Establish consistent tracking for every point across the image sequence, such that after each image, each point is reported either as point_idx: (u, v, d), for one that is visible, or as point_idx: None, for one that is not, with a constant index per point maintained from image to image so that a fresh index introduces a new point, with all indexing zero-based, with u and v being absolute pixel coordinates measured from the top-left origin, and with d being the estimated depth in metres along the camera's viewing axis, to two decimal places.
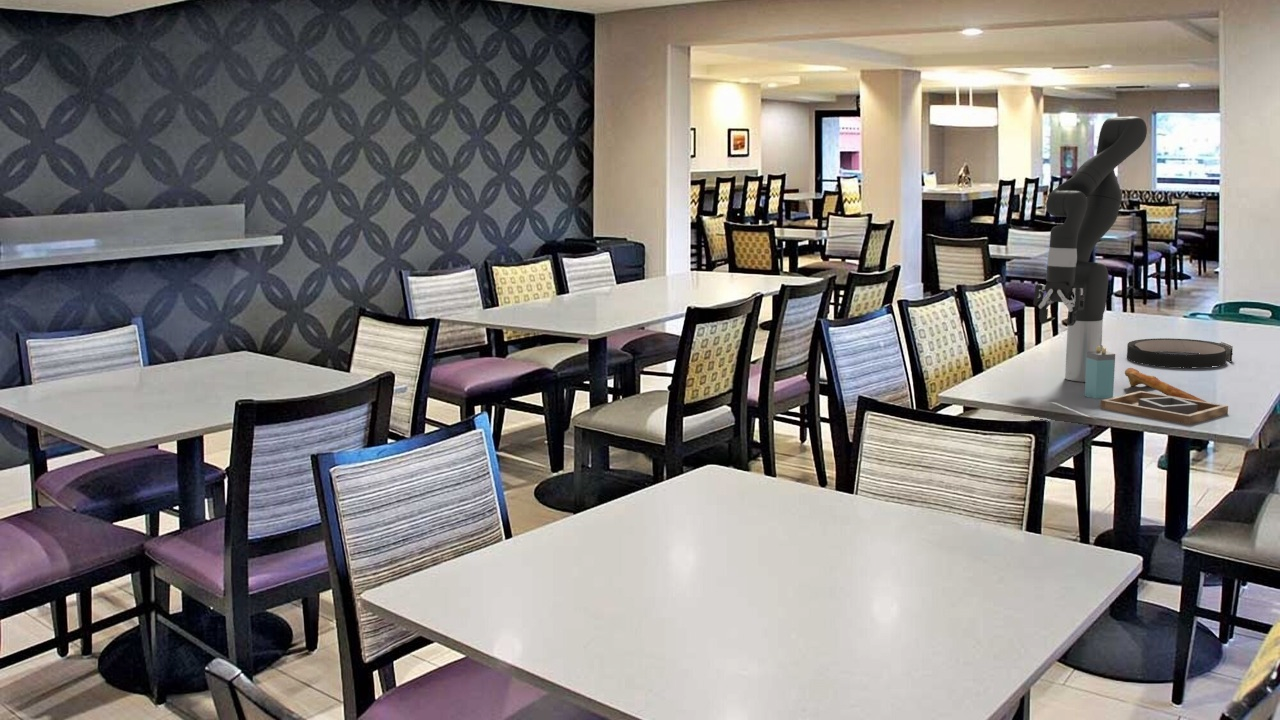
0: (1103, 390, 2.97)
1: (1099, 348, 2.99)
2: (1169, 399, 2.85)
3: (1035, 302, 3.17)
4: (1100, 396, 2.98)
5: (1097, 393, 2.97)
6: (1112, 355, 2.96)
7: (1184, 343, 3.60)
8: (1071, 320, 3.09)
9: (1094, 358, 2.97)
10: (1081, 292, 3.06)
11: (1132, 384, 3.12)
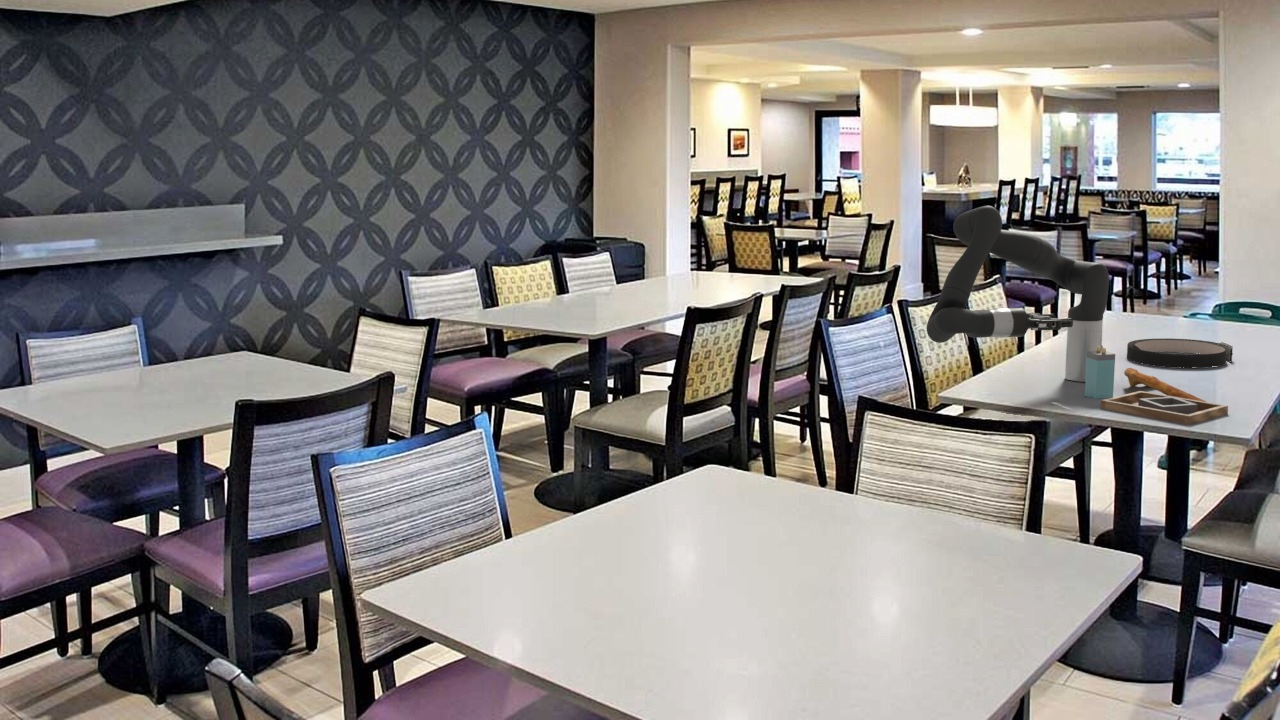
0: (1103, 390, 2.97)
1: (1099, 348, 2.99)
2: (1169, 399, 2.85)
3: None
4: (1100, 396, 2.98)
5: (1097, 393, 2.97)
6: (1112, 355, 2.96)
7: (1184, 343, 3.60)
8: (1068, 326, 2.90)
9: (1094, 358, 2.97)
10: (1044, 326, 2.86)
11: (1132, 384, 3.12)
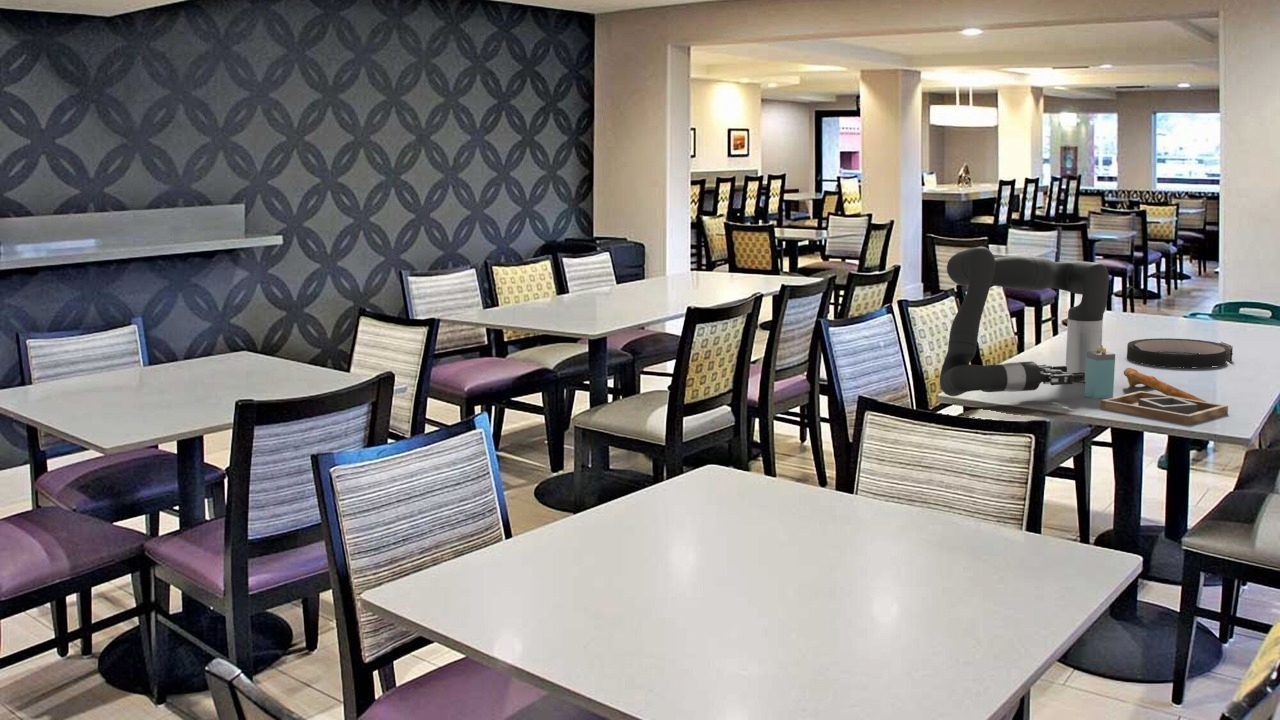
0: (1103, 390, 2.97)
1: (1099, 348, 2.99)
2: (1169, 399, 2.85)
3: None
4: (1100, 396, 2.98)
5: (1097, 393, 2.97)
6: (1112, 355, 2.96)
7: (1184, 343, 3.60)
8: None
9: (1094, 358, 2.97)
10: (1056, 381, 2.90)
11: (1131, 384, 3.12)
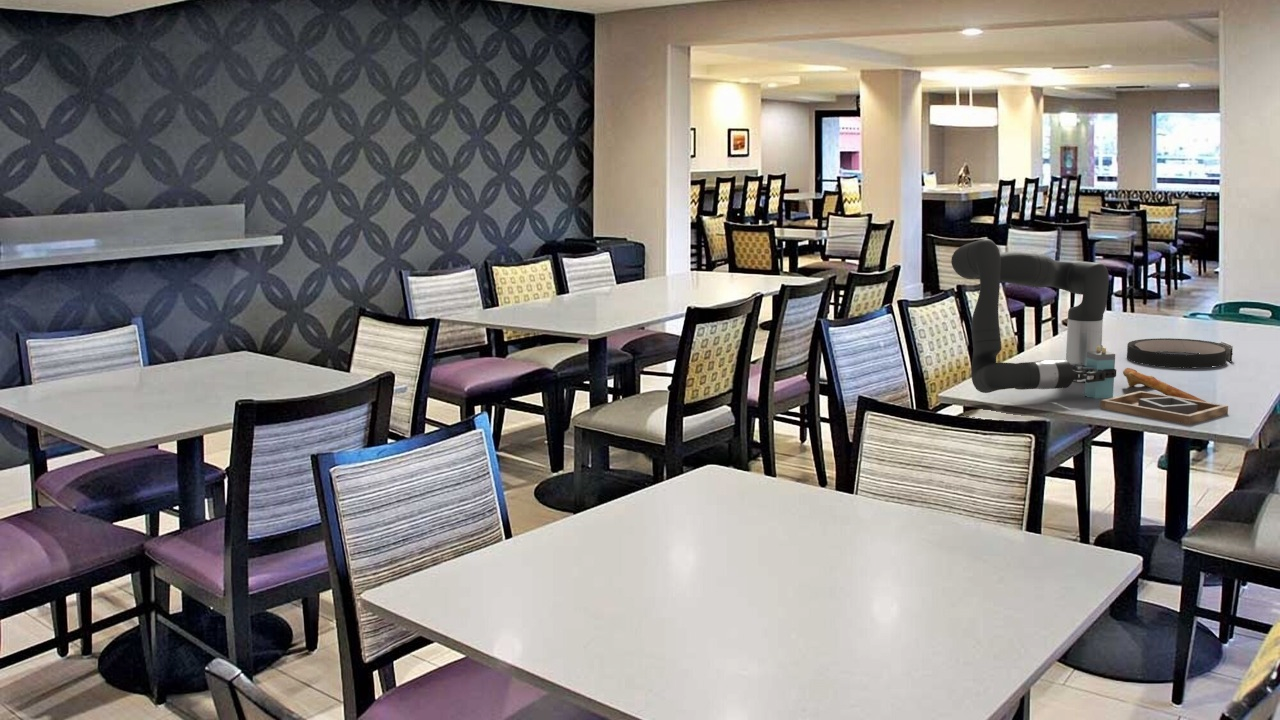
0: (1103, 390, 2.97)
1: (1099, 348, 2.99)
2: (1169, 399, 2.85)
3: None
4: (1100, 396, 2.98)
5: (1097, 393, 2.97)
6: (1112, 355, 2.96)
7: (1184, 343, 3.60)
8: None
9: (1094, 358, 2.97)
10: (1092, 378, 2.92)
11: (1131, 384, 3.12)
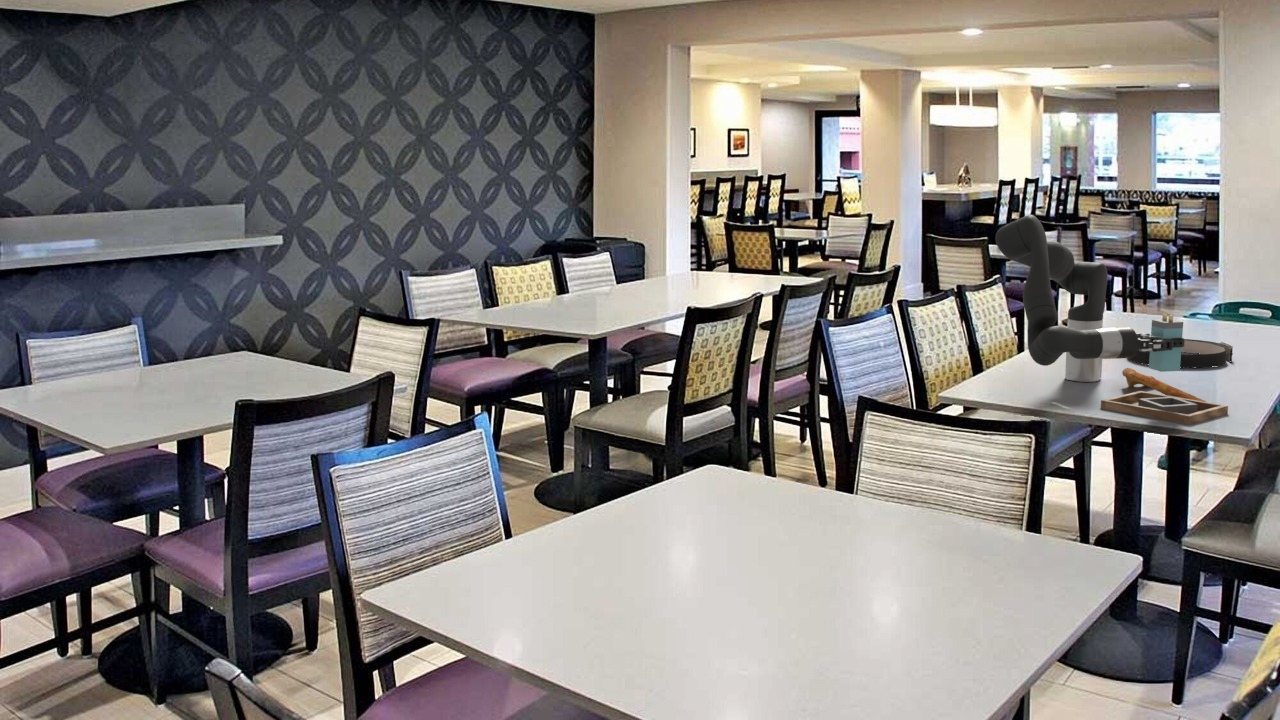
0: (1170, 360, 2.77)
1: (1165, 316, 2.78)
2: (1169, 399, 2.85)
3: None
4: (1167, 368, 2.77)
5: (1163, 364, 2.77)
6: (1180, 323, 2.76)
7: (1184, 343, 3.60)
8: None
9: (1160, 326, 2.77)
10: (1159, 347, 2.72)
11: (1130, 384, 3.12)
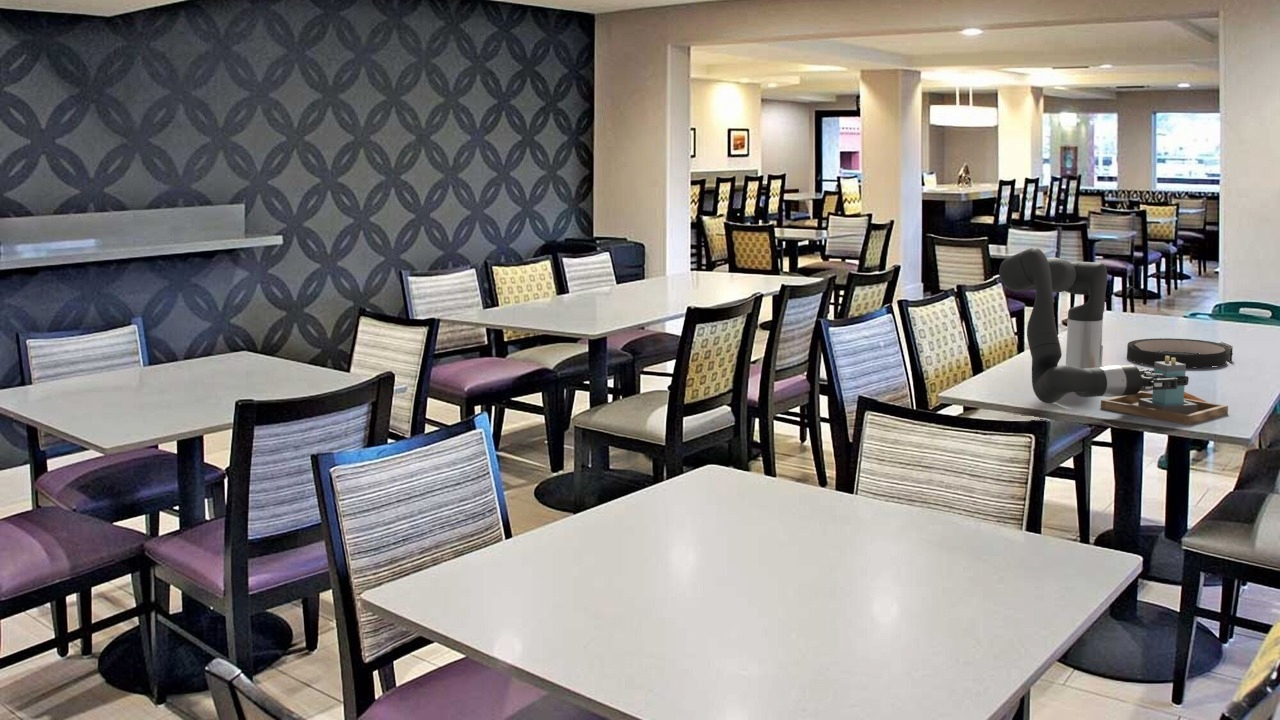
0: (1173, 403, 2.78)
1: (1168, 358, 2.80)
2: None
3: None
4: None
5: None
6: (1182, 366, 2.77)
7: (1184, 343, 3.60)
8: None
9: (1163, 369, 2.78)
10: (1160, 385, 2.72)
11: None
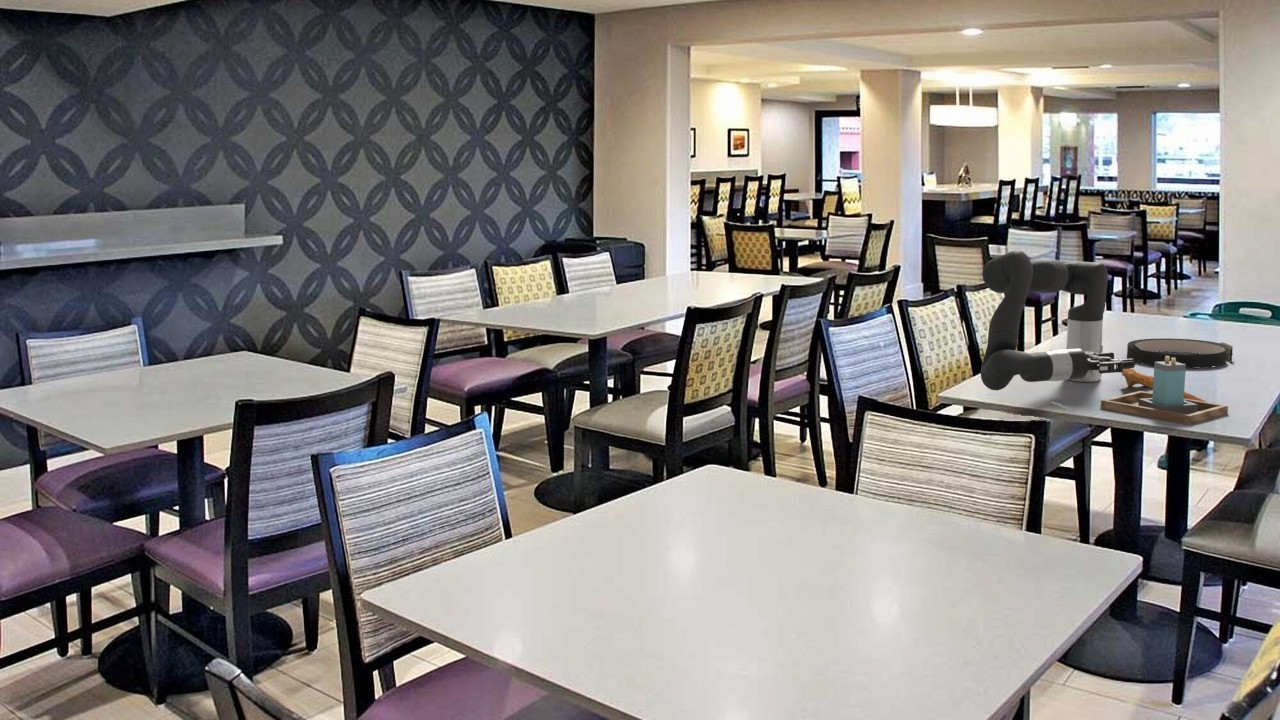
0: (1173, 403, 2.78)
1: (1168, 358, 2.80)
2: None
3: None
4: None
5: None
6: (1182, 366, 2.77)
7: (1184, 343, 3.60)
8: None
9: (1163, 369, 2.78)
10: (1105, 369, 2.71)
11: (1129, 384, 3.12)
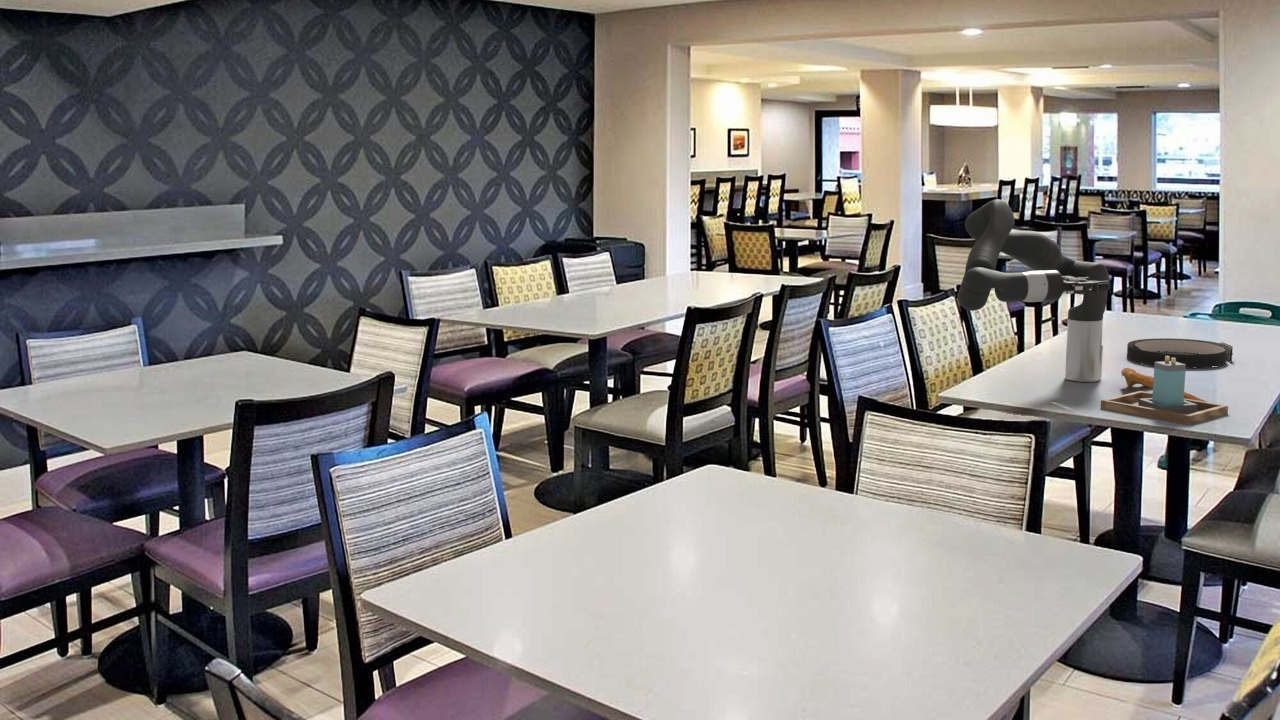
0: (1173, 403, 2.78)
1: (1168, 358, 2.80)
2: None
3: None
4: None
5: None
6: (1182, 366, 2.77)
7: (1184, 343, 3.60)
8: (1105, 288, 2.75)
9: (1163, 369, 2.78)
10: (1080, 289, 2.72)
11: (1129, 384, 3.12)
